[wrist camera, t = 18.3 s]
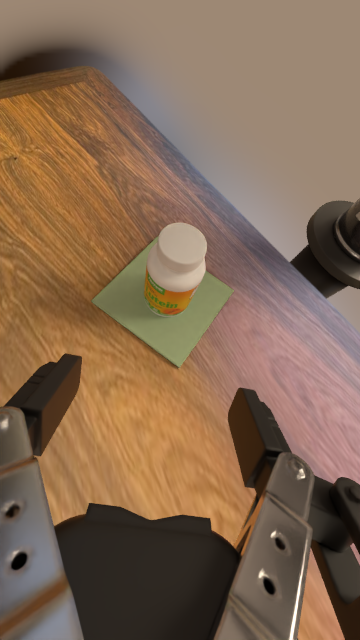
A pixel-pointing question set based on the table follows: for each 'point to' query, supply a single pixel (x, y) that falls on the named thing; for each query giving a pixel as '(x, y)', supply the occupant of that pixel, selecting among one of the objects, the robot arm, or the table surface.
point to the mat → (157, 331)
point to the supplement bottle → (174, 269)
